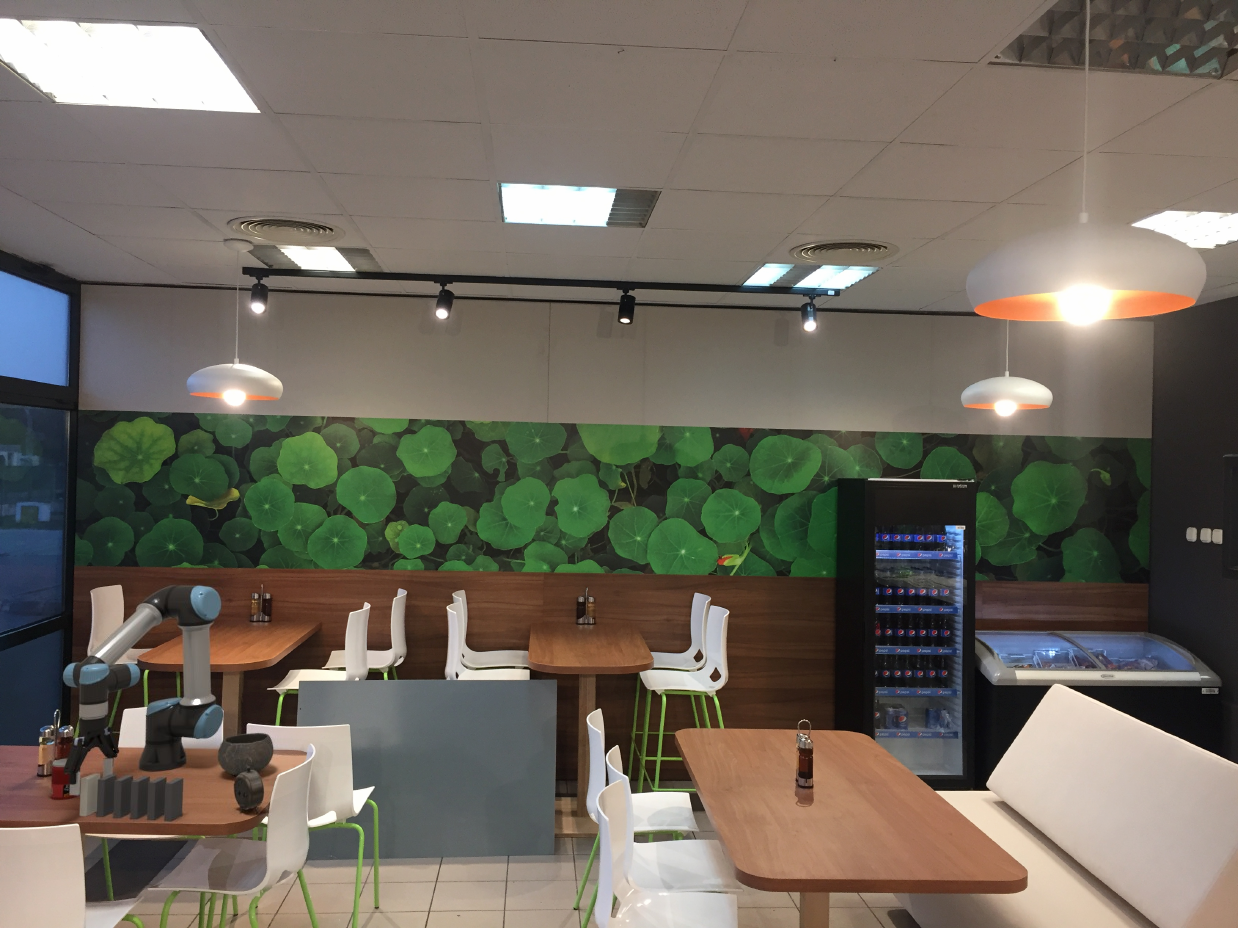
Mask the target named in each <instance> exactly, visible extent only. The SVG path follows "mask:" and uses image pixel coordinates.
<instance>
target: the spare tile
mask: <svg viewBox="0 0 1238 928" xmlns="http://www.w3.org/2000/svg"><path fill="white" fill-rule="evenodd" d="M100 778H101V773H94V772H93V773H91V774H89V775H87V776H84V777H80V795H79V796H80V797H79V798H80V799H79V816H80V817H88V816H90V815H92V814H95V813H97V790H98V779H100Z"/></svg>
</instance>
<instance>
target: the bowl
mask: <svg viewBox="0 0 1238 928" xmlns="http://www.w3.org/2000/svg"><path fill="white" fill-rule="evenodd" d="M274 750H275V749H274V743H273V741H272V737H271V736H270V735H269V734H268V733H265V732H264V733H263V732H252V733H242V734H236V735H230V736H227V737H226V738H225V737H224V739H223V740H222V742H221V743H220V745H219V749H218V753H217V760H218V763H219V765H220V766H219V767H220V768H222V770H223V771H224V772H226V773H227V774H230V775H232V776H235V777H237V776H238V775H239V774H240V773H243V772H246V771H247V767H251V761H250V759H247V758H251V760H252V767H251V768H250V770H255V771H256V772H258V773H259V772H262V771H263V770H264V769H265V768H266V767H267V766H268V765H269V764H270V763H271V761H272V758H273V756H274ZM246 759H247V762H246ZM246 764H247V767H246Z"/></svg>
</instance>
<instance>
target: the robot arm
mask: <svg viewBox="0 0 1238 928" xmlns="http://www.w3.org/2000/svg"><path fill="white" fill-rule="evenodd" d="M221 608H222V601H221V596H220V594H219V592H218V591H216V590H215V588H213V587H212V586H211V587H210V586H204V585H178V584H174V585H173V584H172V585H168V586H166V587H164V588H163V587H162V588H161V589H159V590H157V591H155V592H154V593H152V594H150V595H149V596H148V597H146V598H145V599H144V600H143V601H141V603H139V604H138V605H137V606H136V609H135V612H134V613H133V614H131V616H130V617H128V618H127V619H126V621H124V622H123V623H122V624H121V625H119V627H118V628H117V629H116V630H115V631H114V632H112V633H111V634H110V635H109V637H107V638H106V639H104V641H103V642H102V643H101V644H100V645H99V646H97V648H95V649H94V650H93V651H92V652H91V653H89V655H88V656H87V657H86V658H85V659H84V660H82V661H81V662H72V663H69V664H68V665H67V666H66V667H65V669H64V671H63V675H62V679H63V683H65V685H66V686H68V687H71V688H72V687H73V688H78V689H79V701H78V702H79V707H78V708H79V711H78V716H79V719H78V731H79V732H80V733H81V736H80V737H73V738H72V742H71V747H70V750H69V752H68V757H67V761H66V764H65V767H64V770H63V772H64V773H69V784H70V795H77V796H80V792H81V771H80V772H78V771H79V769H80V770H81V767H82V765H83V762H84V761H85V759H86V757H87V755H88V753H89V752H91V750H93V749H94V748H95V747H96V748H98V749H99V750H100V752H101V753H102V754H103V756H104V758H103V760H102V761H103V762H102V778H103V777H105V776H107V775H110V774H113V772H114V770H113V769H114V761H115V759H114V758H118V754H119V753H120V750H119V749H120V748H119V747H118V743H117V741H116V739H115V736H114V733H113V731H114V730H113V727H112V726H108V720H109V719H108V713H109V694H111V693H113V692H116V691H117V692H118V691H120V690H125V689H128V688H130V687H133V686H135V685H136V684H137V683H138V682H139V681H140V678H141V671H140V668H139V667H138V666H137V665H136V664H135V663H132V662H128V663H122V664H116V663H117V662H118V661H119V660H120V659H121V658H122V657H123V656H124V655H125V654H126V653H127V652H128V651H130V649H131V648H132V647H134V645H136V643H137V642H139V641H140V640H141V639H142V638H143V636H145V635H146V634H147V633H148V632H149V631H150V630H151V629H152V628H153V627H157V626H159V625H160V624H161V623H163V621H165V620H168V619H176V620H177V627H178V628H179V629H181V630H182V657H183V659H182V661H183V662H182V665H183V666H182V667H183V697H171V698H170V697H169V698H165V699H160V700H156V701H152V702H150V703H149V704H147V707H146V711H145V712H146V713H145V735H144V736H145V737H144V738H145V739H144V741H145V743H144V747H143V749H142V752H141V756H140V758H139V760H138V769H139V770H141V771H146V772H160V771H168V770H172V769H177V768H180V767H183V766H184V765H185V764H187V754H186V751H185V748H184V745H183V741H182V738H185V739H187V738H188V739H196V740H202V739H204V740H205V739H210V738H212V737H214V736H215V735H216V734H217V732H218V731H219V729H220V728H221V726H222V723H223V721H224V709H223V708H222V707H221V706H220V705H218V704H216V703H217V701H216V696H215V695H213V694H212V691H211V690H212V687H211V686H212V684H211V646H210V645H211V644H210V643H211V642H210V636H211V635H210V628H211V626H212V625H213V624H214V623H215V619H216V618H217V617H218V616H219V614H220V611H221ZM68 768H69V769H68ZM74 768H75V769H74Z"/></svg>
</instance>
